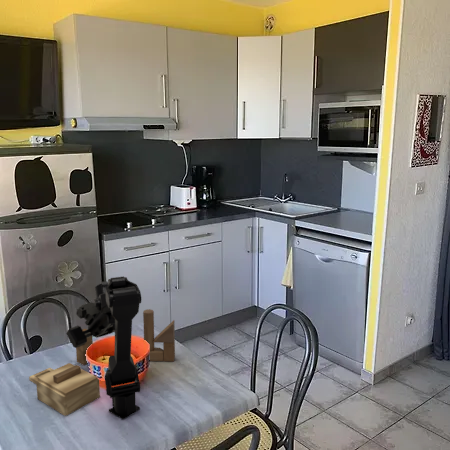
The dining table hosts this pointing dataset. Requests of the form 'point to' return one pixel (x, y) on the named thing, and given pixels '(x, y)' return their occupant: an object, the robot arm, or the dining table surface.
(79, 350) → the brown block
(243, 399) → the dining table surface
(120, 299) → the robot arm
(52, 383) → the lid
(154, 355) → the wooden block
